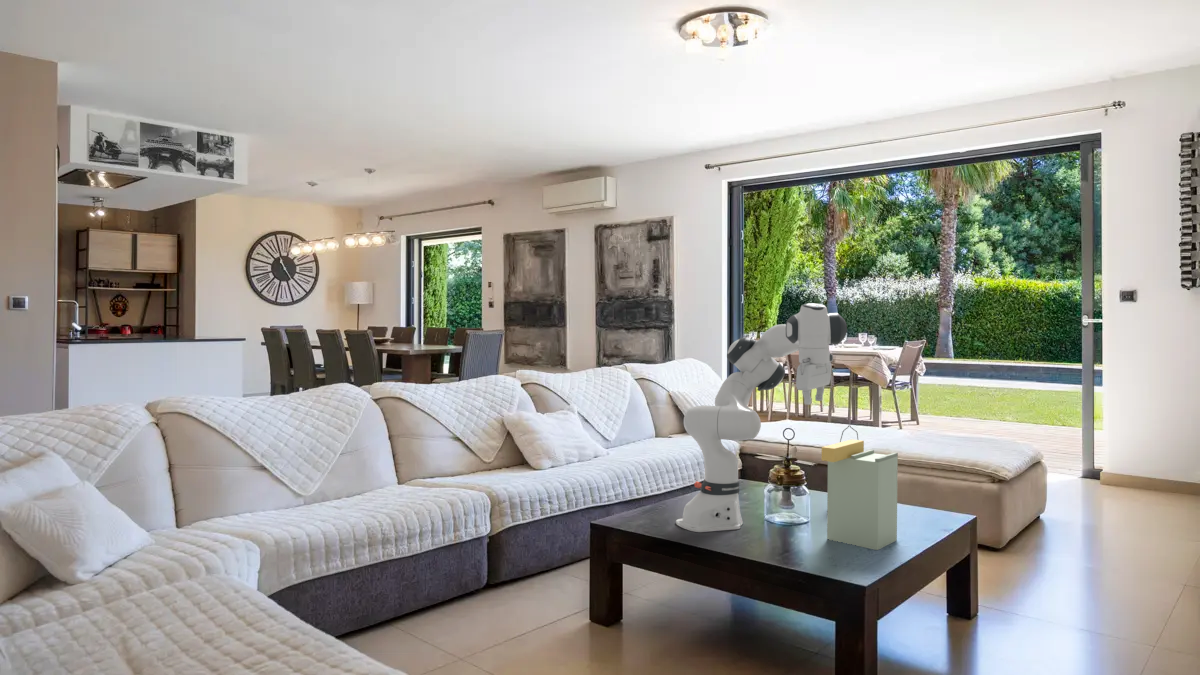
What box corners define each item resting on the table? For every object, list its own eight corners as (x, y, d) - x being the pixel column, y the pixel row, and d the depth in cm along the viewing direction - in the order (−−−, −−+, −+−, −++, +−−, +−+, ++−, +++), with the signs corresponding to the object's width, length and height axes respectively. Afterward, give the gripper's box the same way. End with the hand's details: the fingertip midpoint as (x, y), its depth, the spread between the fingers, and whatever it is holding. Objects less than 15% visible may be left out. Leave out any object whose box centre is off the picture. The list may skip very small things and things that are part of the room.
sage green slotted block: (877, 550, 228) (878, 459, 228) (827, 539, 239) (827, 452, 239) (896, 540, 239) (897, 452, 238) (847, 530, 249) (848, 447, 249)
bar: (834, 462, 228) (834, 448, 228) (821, 460, 231) (821, 447, 231) (863, 453, 243) (863, 440, 243) (851, 451, 245) (851, 439, 245)
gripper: (811, 359, 224) (811, 407, 225) (835, 355, 241) (834, 399, 242) (790, 359, 228) (790, 405, 229) (815, 354, 245) (815, 398, 245)
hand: (813, 402), depth 235 cm, fingers open, 8 cm apart
